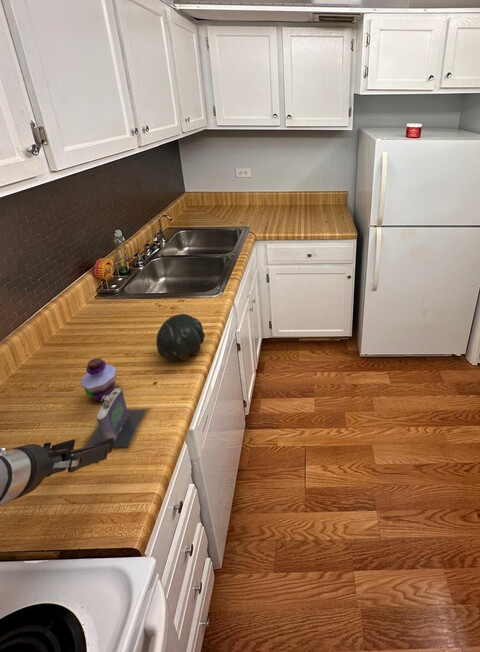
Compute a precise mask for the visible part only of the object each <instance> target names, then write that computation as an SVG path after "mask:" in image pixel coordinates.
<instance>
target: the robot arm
mask: <svg viewBox="0 0 480 652" xmlns="http://www.w3.org/2000/svg"><path fill="white" fill-rule="evenodd" d="M113 441H114V438H109V439H106V440H103V441H101V442H98V443H95V444H94V446H89V447H86V446H85V447H81V448H80V447H79V448H77V449H76V448H75V444H76V439H75V438H73V439H70V440H69V439H68V440H65V441H63V442H59V443H55V444H53V445H52V442H51V441H50V442H44V443H43V445H40V444H37V443H28V444H24V445H21V446H17V447H13V448H10V449H7V447H6V446H5V447H4V446H3V447H2V446H1V447H0V508H1V507H3V506H6V505H7V504H9V503H11V502H13V501H15V500H17V499H19V498H21V497H24V496H26V495H28V494H30V493H32V492H33V491H35V490H36V489H37V488H38V487H39V486H40V485H41V483H42V482H43V481H44V480H45V478H49V477H51V476H52V475H54V474H58V473H62V472H65V471H66V470H67V473H74V472H76V471H78V470H79V469H82V468H85V467H88V466H90V465H94V464H99V462H102V461H105V460H107V459H108V454H110V453H112V452H113V448H112V447H113ZM74 448H75V449H74Z"/></svg>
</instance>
